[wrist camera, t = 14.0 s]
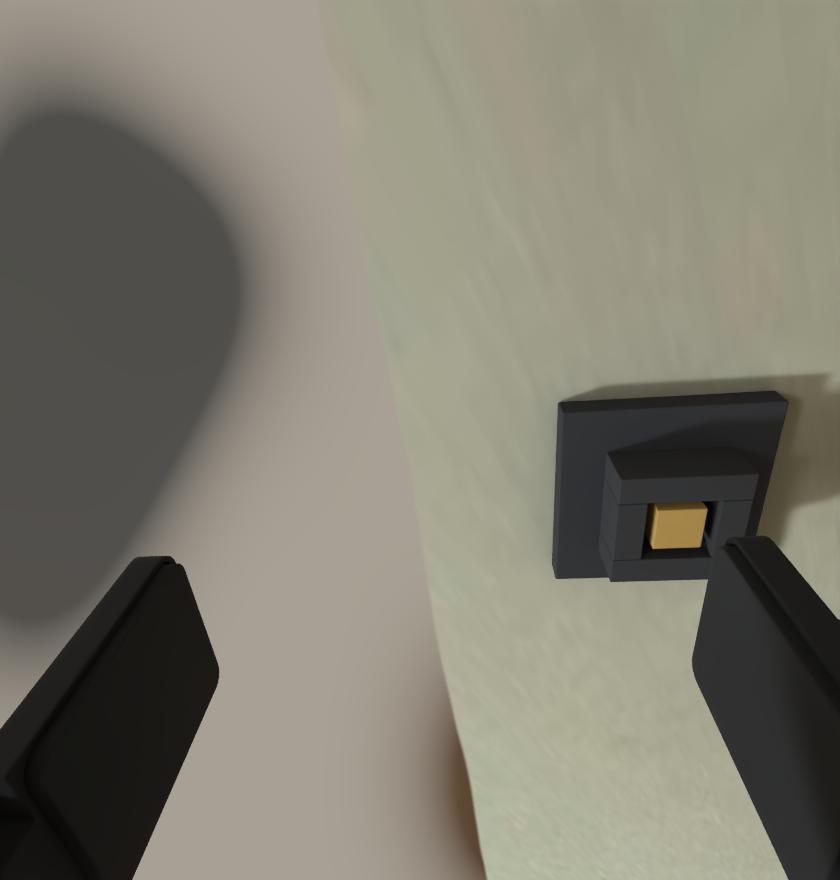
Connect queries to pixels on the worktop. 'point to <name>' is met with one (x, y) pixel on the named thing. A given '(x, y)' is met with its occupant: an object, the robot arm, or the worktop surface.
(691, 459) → the black hole pad
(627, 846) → the worktop surface
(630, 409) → the charcoal stud pad
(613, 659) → the worktop surface
